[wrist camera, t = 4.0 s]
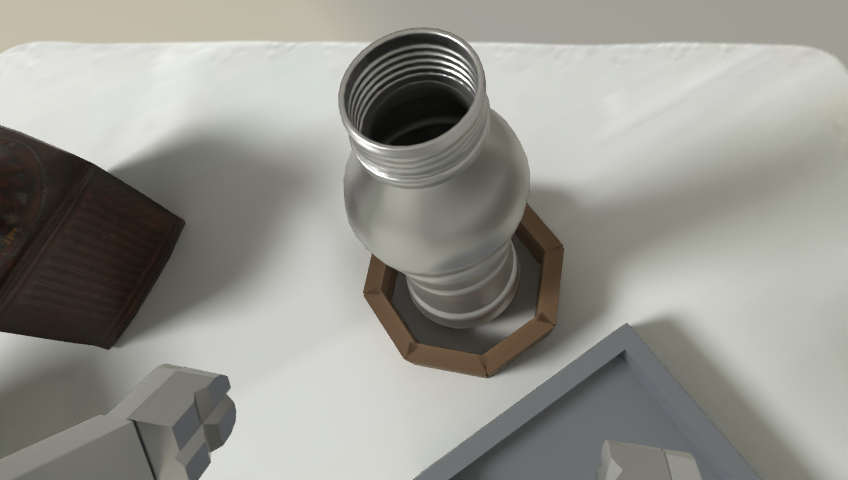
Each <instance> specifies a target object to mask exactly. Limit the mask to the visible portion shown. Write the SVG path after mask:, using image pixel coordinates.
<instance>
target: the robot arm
mask: <svg viewBox="0 0 848 480" xmlns="http://www.w3.org/2000/svg"><path fill="white" fill-rule="evenodd" d="M230 388H231V387H230V383H229V380H228V377H227V376H225V375H222V374H217V373H212V372H207V371H202V370H197V369H192V368H187V367H180V366H175V365H170V364H163V365H160V366H158V367H156V368H155V369H154V370H153V371H152V372H151V373H150V374H149V375H148V376H147V377H146V378H145V379H144V380H143V381H142V382H140V383H139V384H138V385H137V386H136V387H135V388H134V389H133V390H132V391H131V392H130V393H129V394H128V395H127V396H126V397H125V398H123V399H122V400H121V401H120V402H119V403H118V404H117V405H116V406H115V407H114V408H113V409H112V410H111V411H110V412H109V413H108V414H106V415H97V416H95V417H93V418H90V419H88V420H86V421H84V422H81V423H79V424H77V425H75V426H72V427H70V428H68V429H66V430H64V431H61V432H59V433H57V434H55V435H52V436H50V437H48V438H46V439H43V440H41V441H39V442H37V443H35V444H32V445H30V446H28V447H26V448H23V449H21V450H19V451H17V452H14V453H12V454H10V455H8V456H5V457H3V458H1V459H0V480H198V479H199V478H200V477H201V475H202V474H203V473H204V471H205V470H206V468H207V467H208V466H209V464H210V463H211V452H212V451H214V450H216V449H218V448H219V447H221V446H223V445H224V443H225V442H226V440H227V439H228V437H229V436H230V434H231V432H232V429H233V426H234V424H235V420H236V408H235V404H234V402H233V401H232V400H231V398H230V397H229V396H228V395H227V393H228V391H229V390H230ZM601 457H602V466H601V467H599V468H598V469H597V472H596V476H595V480H702V478H701V476H700V473H699V470H698V467H697V464H696V461H695V458H694V457H693V456H692V455H691V454H690V453H686V452H680V451H673V450H667V449H659V448H656V447H650V446H644V445H637V444H631V443H625V442H619V441H612V440H605V442H604V444H603V447H602V451H601Z"/></svg>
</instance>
